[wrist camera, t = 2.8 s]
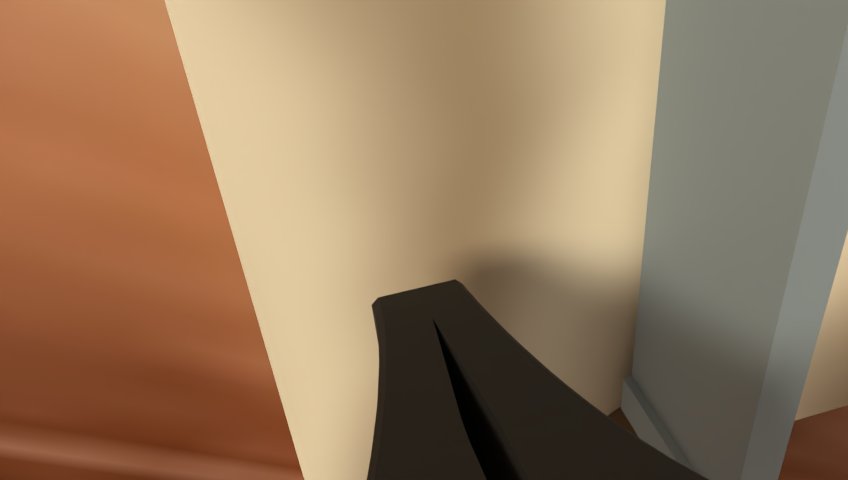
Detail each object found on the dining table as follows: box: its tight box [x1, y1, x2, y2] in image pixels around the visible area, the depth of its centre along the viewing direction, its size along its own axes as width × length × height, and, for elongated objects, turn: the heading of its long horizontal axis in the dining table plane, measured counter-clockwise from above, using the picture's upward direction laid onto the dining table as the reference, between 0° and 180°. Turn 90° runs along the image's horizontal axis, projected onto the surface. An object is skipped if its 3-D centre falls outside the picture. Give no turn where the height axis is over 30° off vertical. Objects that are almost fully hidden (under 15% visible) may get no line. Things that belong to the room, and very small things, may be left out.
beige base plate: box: [165, 0, 848, 480], centre depth 14 cm, size 20×20×6 cm
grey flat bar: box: [621, 0, 848, 480], centre depth 13 cm, size 14×1×4 cm, turn 6°
